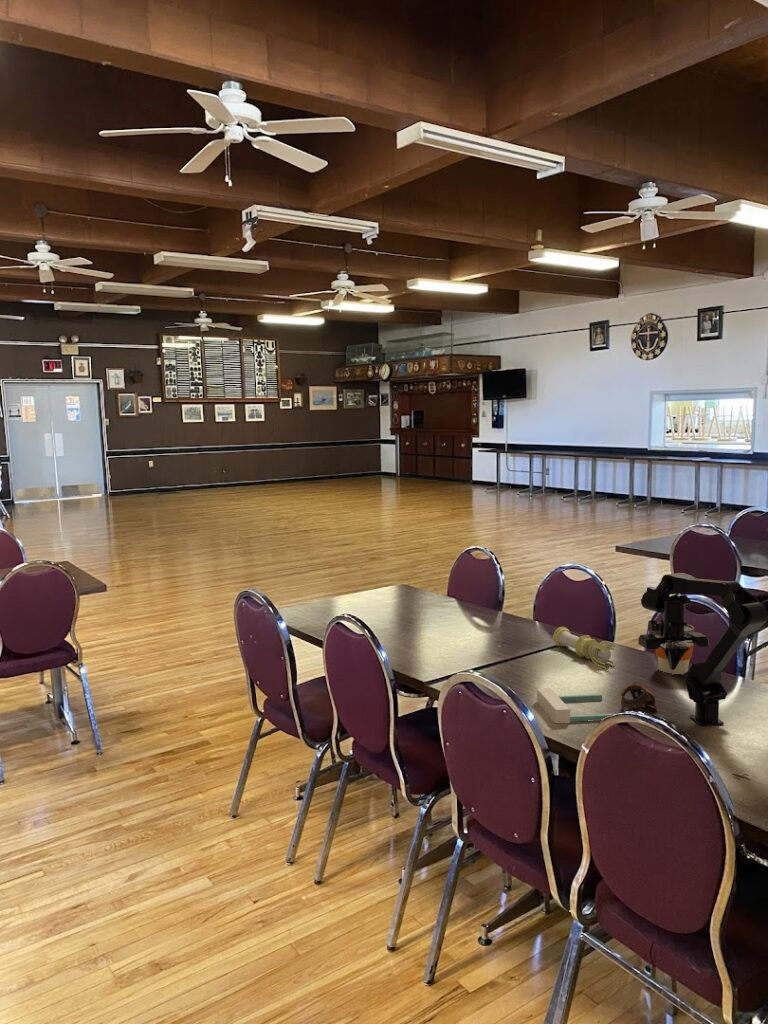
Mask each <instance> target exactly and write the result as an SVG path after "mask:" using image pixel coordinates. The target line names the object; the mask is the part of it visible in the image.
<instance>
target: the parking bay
mask: <svg viewBox="0 0 768 1024" xmlns="http://www.w3.org/2000/svg"><path fill="white" fill-rule="evenodd" d="M588 700H594V701H602V700H603V694H602V693H598V694H597V693H594V694H574V695H557V693H555V691H554V690H553V689H552V688H551V687H541V688H536V702H537V704H538V705H539V706H540V707H541V708H542V709H543V711H544V712H545V714H547V716H548V717H549V718H550V719H551V720H552V721H553V723H554V724H555V723H565V724H570V723H575V722H574V721H588V720H601V719H603V718H605V717H607V716H610V715H612V714H615V712H614V713H598V714H596V713H595V714H582V715H580V714H579V715H578V714H575V715H571V709H570V706H569V707H568V705H567V704H566V703H569V702H589V701H588ZM588 722H589V721H588Z"/></svg>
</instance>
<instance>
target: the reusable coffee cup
mask: <svg viewBox="0 0 768 1024" xmlns="http://www.w3.org/2000/svg"><path fill="white" fill-rule="evenodd" d="M658 623H661V621H660V622H658ZM692 632H695V627H694V626H693V625H691V624H689V623H687V626H685V629H684V635H685V636H686V634H687V633H692ZM654 636H656V637H658V638H661V637H663V636H660V635H659V634H658V635H654ZM667 641H670V640H667ZM687 647H689V648H690V650H687V651H686V652H685V654H684V655H683V657H682V658H681V660H680V661H679V663H678V665H677V667H676V668H675V670H671V669H670V666H669V663H668V660H667V657H666V655H665V653H664V651H663V649H662V648H660V647H659V648H658V649H654V650H655V655H656V656H657V663H658V670H659V671H660V670H661V671H663V672H662V673H664V672H667V673H672V674H671V675H674V674H681V675H685V674H684V673H686V672H688V671H689V665H690V659H692V655H693V650H694V643H687ZM661 671H660V672H661ZM667 673H666V674H667Z"/></svg>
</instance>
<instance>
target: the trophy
mask: <svg viewBox="0 0 768 1024" xmlns="http://www.w3.org/2000/svg"><path fill="white" fill-rule="evenodd" d="M552 639H553V643H554V645H556V646H557V647H560V646H561V647H566V646H568V647H570V648H572V649H573V650H575V652H574V653H576V654H577V655H578V657H579V658H586V659H590V660H591V661H592V662H593V664H594V663H595V664H594V665H596V664H597V665H596V666H598V665H599V666H598V667H600V666H601V668H602V667H603V668H602V669H604V668H605V670H608V669H607V667H606V665H607V664H608V666H609V665H611V666H612V668H614V667H615V663H614V661H612V660H610V659H611V656H612V653H611V651H614V650H615V648H616V646H617V645H616V644H613V643H611V642H609V641H606V640H602V641H600V642H598V640H597V641H596V639H595V638H593V639H592V637H591V636H590V635H581V636H577V635H575V634H572V633H571V631H570V630H569V629H568V627H565V626H560V627H557V628H556V629H555V630H554V632H553V635H552ZM584 656H585V657H584ZM605 663H606V664H605ZM611 666H610V667H611ZM615 668H616V667H615Z"/></svg>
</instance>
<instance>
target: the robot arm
mask: <svg viewBox="0 0 768 1024" xmlns="http://www.w3.org/2000/svg"><path fill="white" fill-rule="evenodd" d="M686 593H693V594H699V595H709V596H718V597H721V599H722V600H723V605H724V608H725V610H726V611H727V613H728V614H729V617H728V628H727V629H726V631H725V632H724V633H723V635H722V636H721V638H719V640H718V642H717V643H716V644H715V646H714V648H713V649H712V651H711V652H710V654H708V656H707V658H706V659H705V660H704V661H700V662H699V661H698V662H695V663H692V664H691V665H690V668H689V669H688V672H686V674H685V675H686V676H685V680H684V681H685V685H686V688H687V694H688V699H689V700H691V701H692V702H693V703H695V707H694V710H695V711H694V713H695V714H690V715H689V717H690V719H692V720H693V721H694V722H696V723H698V724H699V725H700V726H717V725H718V726H719V725H720V726H721V725H724V721H722V720H721V719H719V714H720V713H719V712H720V701H721V700H725V699H726V698H727V695H728V692H727V691H726V688H725V687H724V686H723V684H722V680H723V676H722V675H723V674H722V672H723V669H725V667H726V666H727V664H728V663H729V662H730V660H731V659H732V658H733V656H734V655H735V653H736V652H737V650H739V648H740V647H741V645H742V644H743V643H744V641H745V640H746V638H747V637H748V636H749V635H752V634H753V633H754V632H756V631H758V630H760V629H761V628H762V627H763V626H764V625H765V624H766V623H767V622H768V609H767V607H766V605H764V604H763V603H762V602H761V601H760V600H759V599H758V597H756V595H753V594H752V593H751V592H749V591H748V590H746V589H745V588H744V587H743V586H742V585H741V584H740V583H739V582H738V581H736V580H729V581H728V580H727V581H726V580H719V579H718V580H715V579H704V578H696V577H694V576H693V575H692V574H691V575H690V574H687V573H684V572H676V573H669V574H668V573H667V574H664V575H662V577H661V580H660V582H659V583H658V585H657V586H656V587H655V586H649V587H648V586H647V587H646V591H645V592H644V593H643V594H642V596H641V600H640V603H641V606H642V607H643V609H645V610H649V611H652V612H655V613H659V614H663V617H661V619H660V622H661V623H659V622H657V620H651V619H650V620H648V622H647V630H648V632H649V633H650V632H653V634H652V633H651V634H640V635H639V637H638V638H637V639H638V640H637V641H638V643H637V644H638V645H640V646H641V647H643V648H645V649H646V650H655V649H658V648H659V647H660V648H662V649H663V651H664V653H665V655H666V657H667V660H668V663H669V666H670V669H671V670H675V668H676V667H677V665H678V663H679V661H680V660H681V658H682V657H683V655H684V654H685V652H686V651H687V650H690V648H689V647H687V643H693V644H694V643H695V644H696V645H697V647H698V648H702V647H705V648H706V647H707V648H708V647H709V646H710V640H709V638H708V636H707V635H704V634H703V633H701V632H697V631H696V632H695V631H694V632H692V633H687V634H686V636H685V635H684V629H685V626H687V624H688V622H687V621H686V619H685V618H686V605H689V604H692V603H693V602H692V600H691V598H689V597H688V596H687V595H686ZM677 594H682V595H677ZM735 599H736V600H738V601H739V602H741V604H738V603H737V601H736V600H735ZM658 634H659V635H660V636H663V637H661V638H658V637H656V636H655V635H658ZM667 640H670V641H667Z"/></svg>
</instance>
